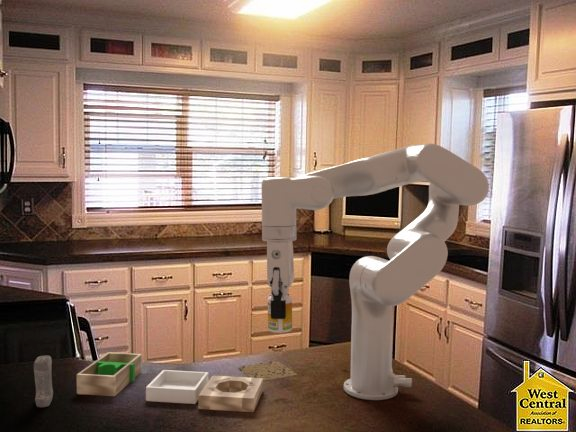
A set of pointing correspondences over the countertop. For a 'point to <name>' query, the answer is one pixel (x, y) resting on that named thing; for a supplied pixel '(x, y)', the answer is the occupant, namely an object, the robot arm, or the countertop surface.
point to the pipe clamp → (114, 368)
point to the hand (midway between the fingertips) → (280, 314)
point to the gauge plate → (231, 393)
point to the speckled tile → (268, 371)
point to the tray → (177, 386)
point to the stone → (43, 381)
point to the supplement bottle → (281, 324)
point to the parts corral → (107, 383)
